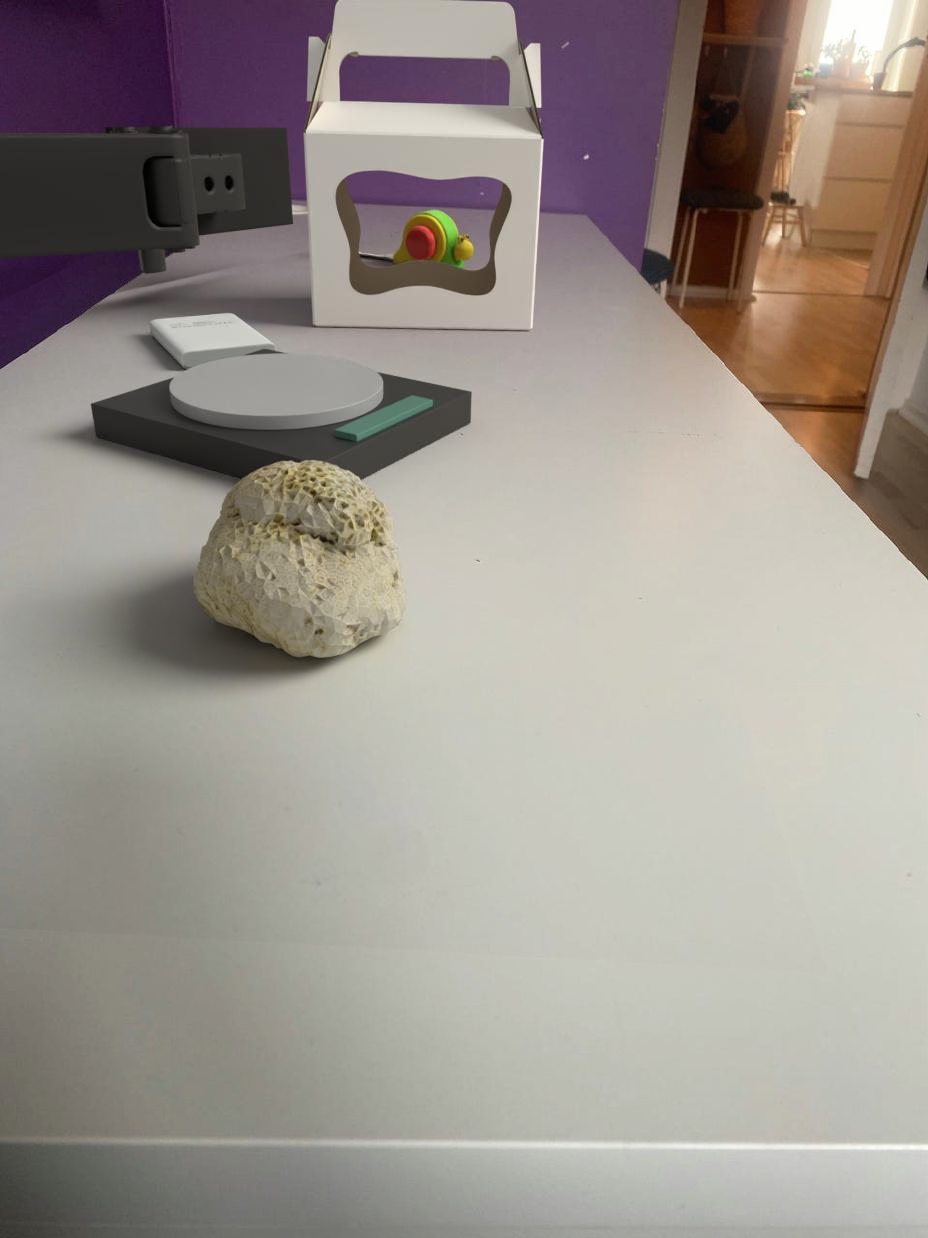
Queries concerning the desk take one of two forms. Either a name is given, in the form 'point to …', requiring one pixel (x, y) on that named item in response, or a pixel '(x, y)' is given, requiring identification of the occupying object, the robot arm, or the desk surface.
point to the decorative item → (303, 560)
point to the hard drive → (207, 338)
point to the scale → (283, 414)
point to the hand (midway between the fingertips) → (118, 171)
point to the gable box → (423, 167)
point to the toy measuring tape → (431, 241)
